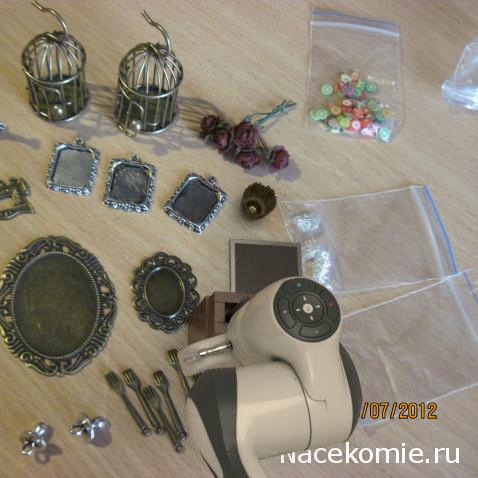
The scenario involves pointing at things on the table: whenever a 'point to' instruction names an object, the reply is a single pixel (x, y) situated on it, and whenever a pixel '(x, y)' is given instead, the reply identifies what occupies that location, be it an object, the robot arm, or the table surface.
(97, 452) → the table surface
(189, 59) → the table surface
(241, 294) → the pen stand
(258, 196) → the cup
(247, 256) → the tablet
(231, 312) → the stylus
